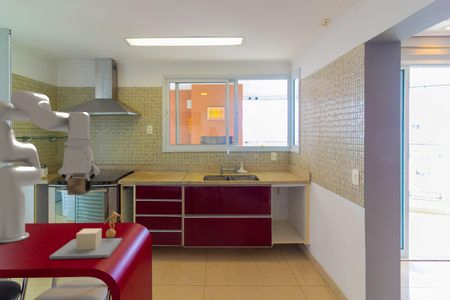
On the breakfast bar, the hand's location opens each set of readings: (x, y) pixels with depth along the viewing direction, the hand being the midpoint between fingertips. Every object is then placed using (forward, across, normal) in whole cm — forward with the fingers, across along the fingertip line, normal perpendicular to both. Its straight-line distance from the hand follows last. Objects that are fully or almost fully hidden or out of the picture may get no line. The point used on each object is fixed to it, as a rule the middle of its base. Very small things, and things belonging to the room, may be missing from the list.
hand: (79, 190), depth 112 cm
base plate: (+23, +3, +1) cm, 23 cm away
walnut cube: (+1, 0, 0) cm, 1 cm away
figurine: (+23, +8, +14) cm, 28 cm away
